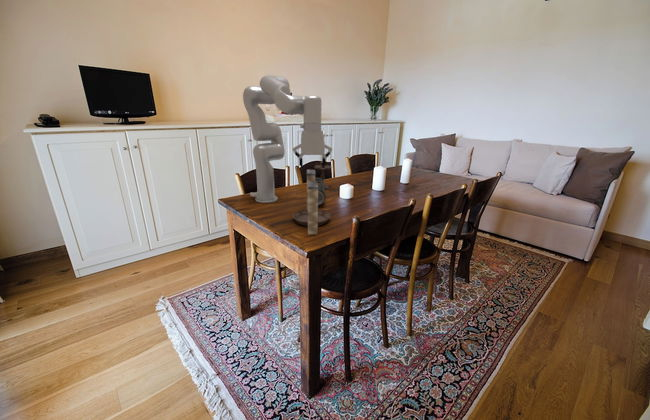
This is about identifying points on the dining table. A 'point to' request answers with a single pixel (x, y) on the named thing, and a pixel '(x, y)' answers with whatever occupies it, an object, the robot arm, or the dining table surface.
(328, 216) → the plant saucer
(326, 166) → the candlestick
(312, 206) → the post front
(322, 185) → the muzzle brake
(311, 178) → the post back
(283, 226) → the dining table surface
